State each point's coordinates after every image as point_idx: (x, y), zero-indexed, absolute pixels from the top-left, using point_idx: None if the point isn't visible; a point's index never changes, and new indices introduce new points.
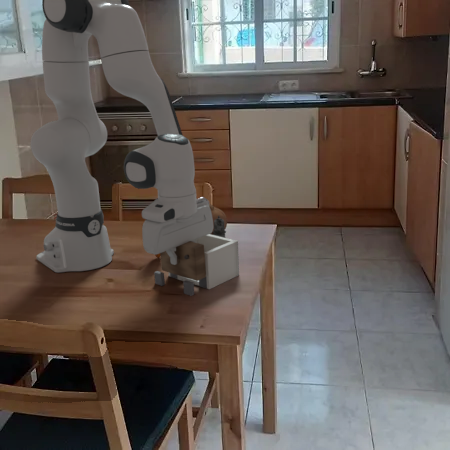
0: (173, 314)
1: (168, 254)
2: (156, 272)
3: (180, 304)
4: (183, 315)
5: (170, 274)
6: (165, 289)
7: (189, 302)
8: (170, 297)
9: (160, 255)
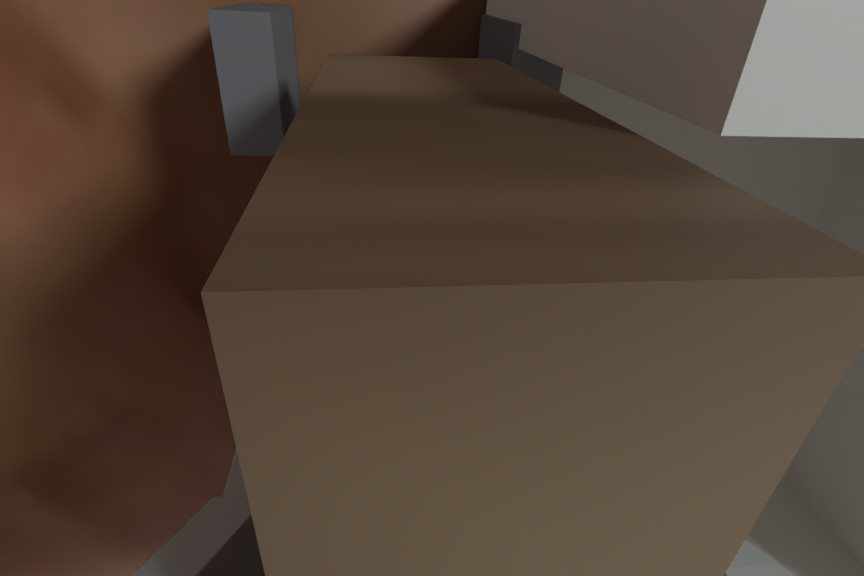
0: (40, 505)
1: (164, 555)
2: (224, 51)
3: (158, 451)
4: (87, 538)
5: (487, 19)
6: (233, 206)
7: (223, 465)
8: (168, 343)
9: (307, 96)
